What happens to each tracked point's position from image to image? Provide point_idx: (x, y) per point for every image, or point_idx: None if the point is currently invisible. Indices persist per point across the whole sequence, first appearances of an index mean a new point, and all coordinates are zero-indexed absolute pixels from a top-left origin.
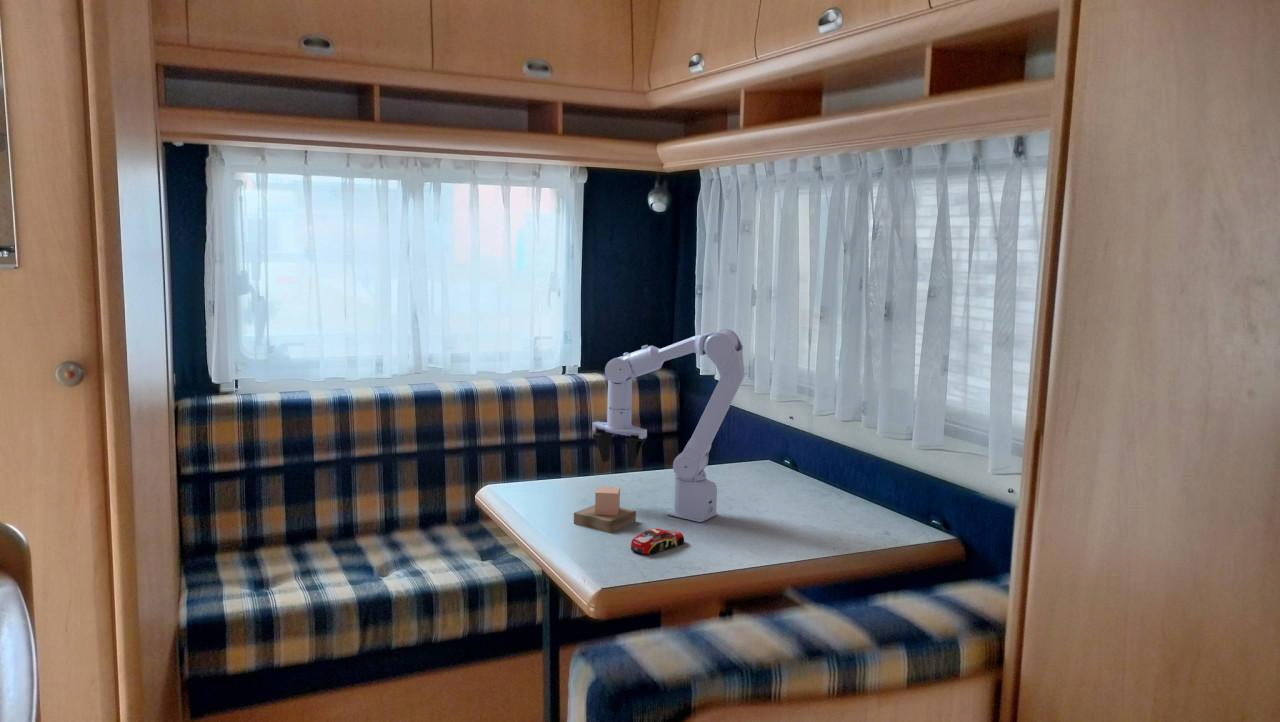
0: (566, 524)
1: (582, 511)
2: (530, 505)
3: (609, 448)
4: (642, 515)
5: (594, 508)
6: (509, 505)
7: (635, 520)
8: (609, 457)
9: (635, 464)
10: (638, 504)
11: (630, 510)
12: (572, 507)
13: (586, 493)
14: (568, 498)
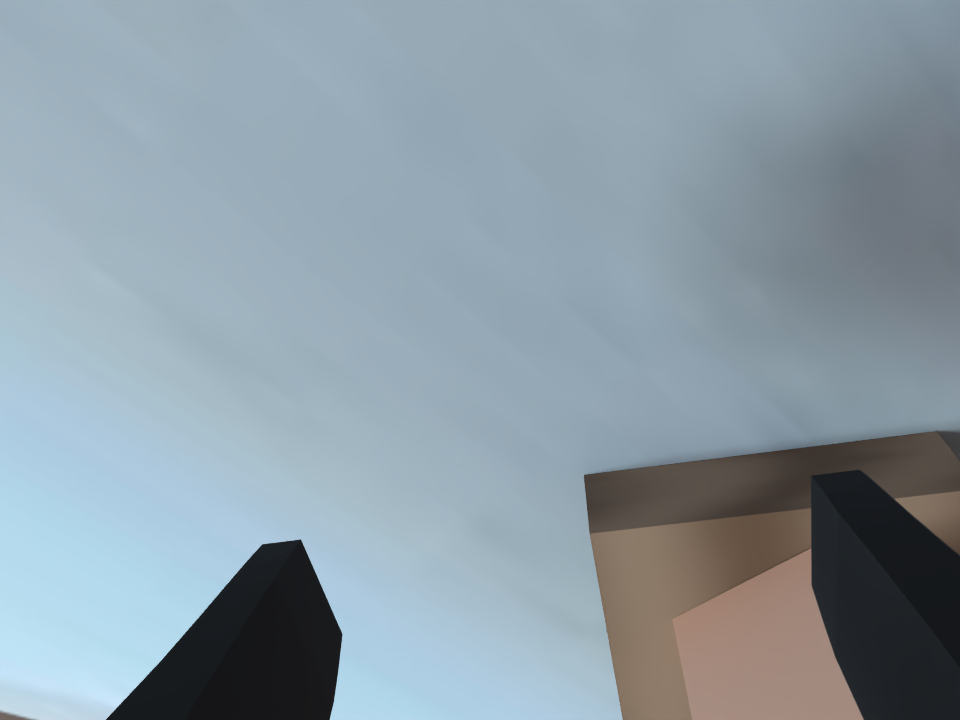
0: (600, 714)
1: (648, 712)
2: (146, 644)
3: (206, 710)
4: (893, 287)
5: (660, 636)
6: (88, 706)
7: (941, 440)
8: (278, 570)
9: (879, 486)
10: (638, 58)
11: (931, 509)
12: (334, 514)
13: (23, 195)
14: (105, 401)
